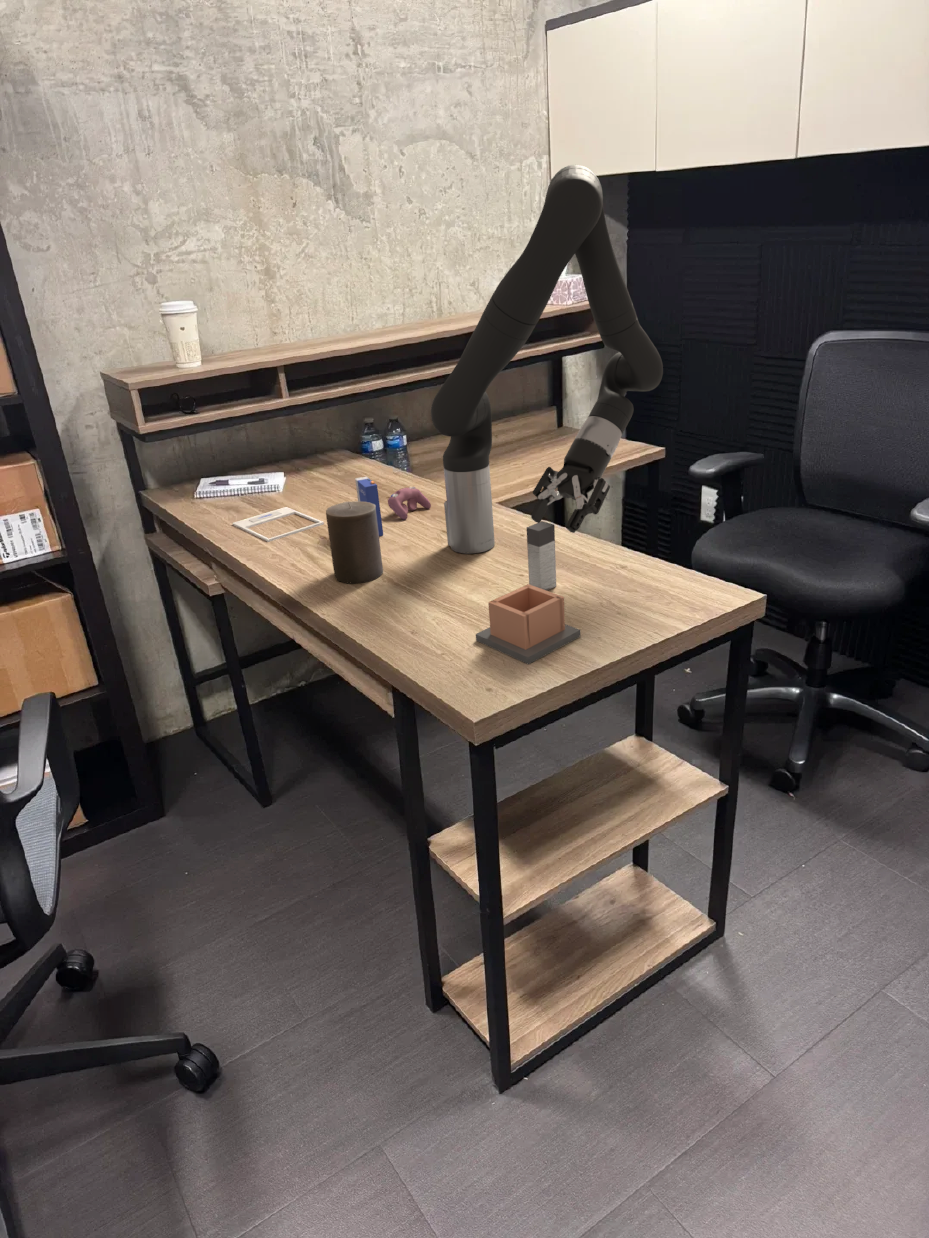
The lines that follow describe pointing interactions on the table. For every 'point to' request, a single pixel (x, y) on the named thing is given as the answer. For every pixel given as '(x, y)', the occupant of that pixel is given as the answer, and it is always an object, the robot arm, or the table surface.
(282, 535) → the photo frame
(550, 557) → the grey block
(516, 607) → the box
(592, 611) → the table surface
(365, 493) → the walkman
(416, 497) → the video game controller
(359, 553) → the pillar candle
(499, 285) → the robot arm
